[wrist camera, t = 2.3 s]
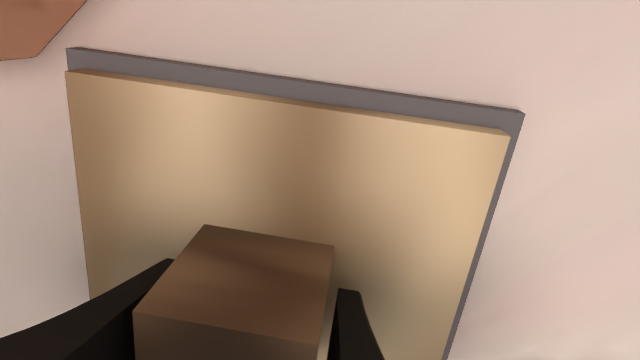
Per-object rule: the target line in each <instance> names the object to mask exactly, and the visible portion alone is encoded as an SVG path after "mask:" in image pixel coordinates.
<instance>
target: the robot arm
mask: <svg viewBox="0 0 640 360" xmlns="http://www.w3.org/2000/svg"><path fill="white" fill-rule="evenodd" d="M174 260H175V259H170V258H166V259H164V260H162V261H160V262H158V263H157V264H155V265H153V266H151V267H150V268H148V269H146V270H144V271H143V272H141V273H139V274H137V275H136V276H134V277H132V278H130V279H129V280H127V281H125V282H123V283H121V284H120V285H118V286H116V287H114V288H113V289H111V290H109V291H107V292H105V293H103V294H101V295H99V296H97V297H95V298H93V299H91V300H89V301H87V302H85V303H83V304H82V305H80V306H78V307H76V308H74V309H72V310H69V311H67V312H65V313H63V314H61V315H58V316H56V317H54V318H52V319H49V320H47V321H44V322H42V323H40V324H37V325H35V326H32V327H30V328H27V329H25V330H22V331H19V332H17V333H14V334H11V335H8V336H5V337H3V338H0V360H135V345H134V330H133V314H132V311H133V310H134V309H135V307H136V306H137V305H138V304H139V302H140V301H141V300H142V299H143V298H144V296H145V295H146V294H147V293H148V292H149V290H150V289H151V288H152V287H153V286H154V284H155V283H156V282H157V281H158V279H159V278H160V277H161V276H162V275H163V273H164V272H165V271H166V270H167V269H168V267H169V266H170V265H171V264H172V263H173V261H174ZM327 360H385V358H384V356H383V354H382V352H381V350H380V348H379V345H378V343H377V340H376V338H375V336H374V333H373V331H372V328H371V326H370V323H369V320H368V317H367V314H366V311H365V308H364V304H363V300H362V295H361V294H360V292H359V291H355V290H349V289H343V288H338V293H337V299H336V305H335V310H334V316H333V322H332V328H331V334H330V340H329V347H328V354H327Z"/></svg>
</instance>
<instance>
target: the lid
mask: <svg viewBox="0 0 640 360" xmlns="http://www.w3.org/2000/svg"><path fill="white" fill-rule="evenodd" d="M65 79H66V88H67V97H68V106H69V115H70V124H71V133H72V141H73V150H74V159H75V168H76V177H77V186H78V195H79V204H80V213H81V222H82V231H83V240H84V249H85V258H86V267H87V276H88V284H89V293H90V300H91V299H93V298H95V297H97V296H99V295H101V294H103V293H105V292H107V291H109V290H111V289H113V288H114V287H116V286H118V285H120V284H121V283H123V282H125V281H127V280H129V279H130V278H132V277H134V276H136V275H137V274H139V273H141V272H143V271H144V270H146V269H148V268H150V267H151V266H153V265H155V264H157V263H158V262H160V261H162V260H164V259H166V258H170V259H175V260H174V261H173V263H172V264H171V265H170V266H169V267H168V269H167V270H166V271H165V272H164V273H163V275H162V276H161V277H160V278H159V279H158V281H157V282H156V283H155V284H154V286H153V287H152V288H151V289H150V290H149V292H148V293H147V294H146V295H145V296H144V298H143V299H142V300H141V301H140V302H139V304H138V305H137V306H136V307H135V309H134V310H133V311H132V314H133V330H134V345H135V360H327V354H328V347H329V340H330V334H331V328H332V322H333V316H334V310H335V305H336V299H337V293H338V288H343V289H349V290H355V291H359V292H360V294H361V295H362V300H363V304H364V308H365V311H366V314H367V317H368V320H369V323H370V326H371V328H372V331H373V333H374V336H375V338H376V340H377V343H378V345H379V348H380V350H381V352H382V354H383V356H384V358H385V360H441V359H442V355H443V352H444V349H445V346H446V343H447V339H448V336H449V333H450V330H451V327H452V323H453V320H454V317H455V314H456V311H457V307H458V304H459V301H460V298H461V295H462V292H463V288H464V285H465V282H466V279H467V276H468V272H469V269H470V266H471V263H472V260H473V256H474V253H475V250H476V247H477V244H478V240H479V237H480V234H481V231H482V228H483V224H484V221H485V218H486V215H487V212H488V208H489V205H490V202H491V199H492V196H493V192H494V189H495V186H496V183H497V180H498V176H499V173H500V170H501V167H502V164H503V160H504V157H505V154H506V151H507V148H508V144H509V141H510V138H511V137H510V136H509V135H508V134H507V133H505V132H504V131H503V130H501V129H496V128H489V127H482V126H475V125H468V124H461V123H455V122H448V121H441V120H434V119H427V118H420V117H414V116H407V115H400V114H393V113H386V112H379V111H372V110H366V109H359V108H352V107H345V106H338V105H331V104H325V103H318V102H311V101H304V100H297V99H290V98H284V97H277V96H270V95H263V94H256V93H249V92H243V91H236V90H229V89H222V88H215V87H208V86H202V85H195V84H188V83H181V82H174V81H167V80H161V79H154V78H147V77H140V76H133V75H126V74H120V73H113V72H106V71H99V70H92V69H85V68H83V69H76V70H69V71H65Z"/></svg>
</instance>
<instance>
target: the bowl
mask: <svg viewBox="0 0 640 360" xmlns="http://www.w3.org/2000/svg"><path fill="white" fill-rule="evenodd" d="M85 1H86V0H0V61H2V60H13V59H23V58H33V57H35V56H37V55H38V54H39V53H40V52H41V50H42V49H43V48H44V47H45V46H46V45H47V44H48V43H49V42H50V40H51V39H52V38H53V37H54V36H55V35H56V34H57V33H58V31H59V30H60V29H61V28H62V27H63V26H64V25H65V24H66V22H67V21H68V20H69V19H70V18H71V17H72V16H73V15H74V14H75V12H76V11H77V10H78V9H79V8H80V7H81V6H82V5H83V3H84V2H85Z"/></svg>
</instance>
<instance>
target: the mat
mask: <svg viewBox="0 0 640 360" xmlns="http://www.w3.org/2000/svg"><path fill="white" fill-rule="evenodd" d="M66 55H67V64H68V71H69V70H76V69H83V68H85V69H92V70H99V71H106V72H113V73H120V74H126V75H133V76H140V77H147V78H154V79H161V80H167V81H174V82H181V83H188V84H195V85H202V86H208V87H215V88H222V89H229V90H236V91H243V92H249V93H256V94H263V95H270V96H277V97H284V98H290V99H297V100H304V101H311V102H318V103H325V104H331V105H338V106H345V107H352V108H359V109H366V110H372V111H379V112H386V113H393V114H400V115H407V116H414V117H420V118H427V119H434V120H441V121H448V122H455V123H461V124H468V125H475V126H482V127H489V128H496V129H501V130H503V131H504V132H505V133H507V134H508V135H509V136H510V137H511V138H510V141H509V144H508V148H507V151H506V154H505V157H504V160H503V164H502V167H501V170H500V173H499V176H498V180H497V183H496V186H495V189H494V192H493V196H492V199H491V202H490V205H489V208H488V212H487V215H486V218H485V221H484V224H483V228H482V231H481V234H480V237H479V240H478V244H477V247H476V250H475V253H474V256H473V260H472V263H471V266H470V269H469V272H468V276H467V279H466V282H465V285H464V288H463V292H462V295H461V298H460V301H459V304H458V307H457V311H456V314H455V317H454V320H453V323H452V327H451V330H450V333H449V336H448V339H447V343H446V346H445V349H444V352H443V355H442V359H441V360H447V358H448V355H449V352H450V349H451V345H452V342H453V339H454V336H455V333H456V330H457V327H458V324H459V320H460V317H461V314H462V311H463V308H464V305H465V302H466V299H467V295H468V292H469V289H470V286H471V283H472V280H473V277H474V274H475V270H476V267H477V264H478V261H479V258H480V255H481V252H482V249H483V245H484V242H485V239H486V236H487V233H488V230H489V227H490V224H491V220H492V217H493V214H494V211H495V208H496V205H497V202H498V199H499V195H500V192H501V189H502V186H503V183H504V180H505V177H506V173H507V170H508V167H509V164H510V161H511V158H512V155H513V152H514V148H515V145H516V142H517V139H518V136H519V133H520V130H521V127H522V123H523V120H524V117H525V113H523V112H521V111H519V110H513V109H506V108H499V107H492V106H485V105H478V104H471V103H464V102H457V101H450V100H443V99H436V98H429V97H422V96H415V95H408V94H401V93H394V92H387V91H380V90H373V89H366V88H359V87H352V86H345V85H338V84H331V83H324V82H317V81H310V80H303V79H296V78H289V77H282V76H275V75H268V74H261V73H254V72H247V71H240V70H233V69H226V68H219V67H212V66H205V65H198V64H192V63H185V62H178V61H171V60H164V59H157V58H150V57H143V56H136V55H129V54H122V53H115V52H108V51H101V50H94V49H87V48H80V47H73V48H66Z"/></svg>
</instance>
